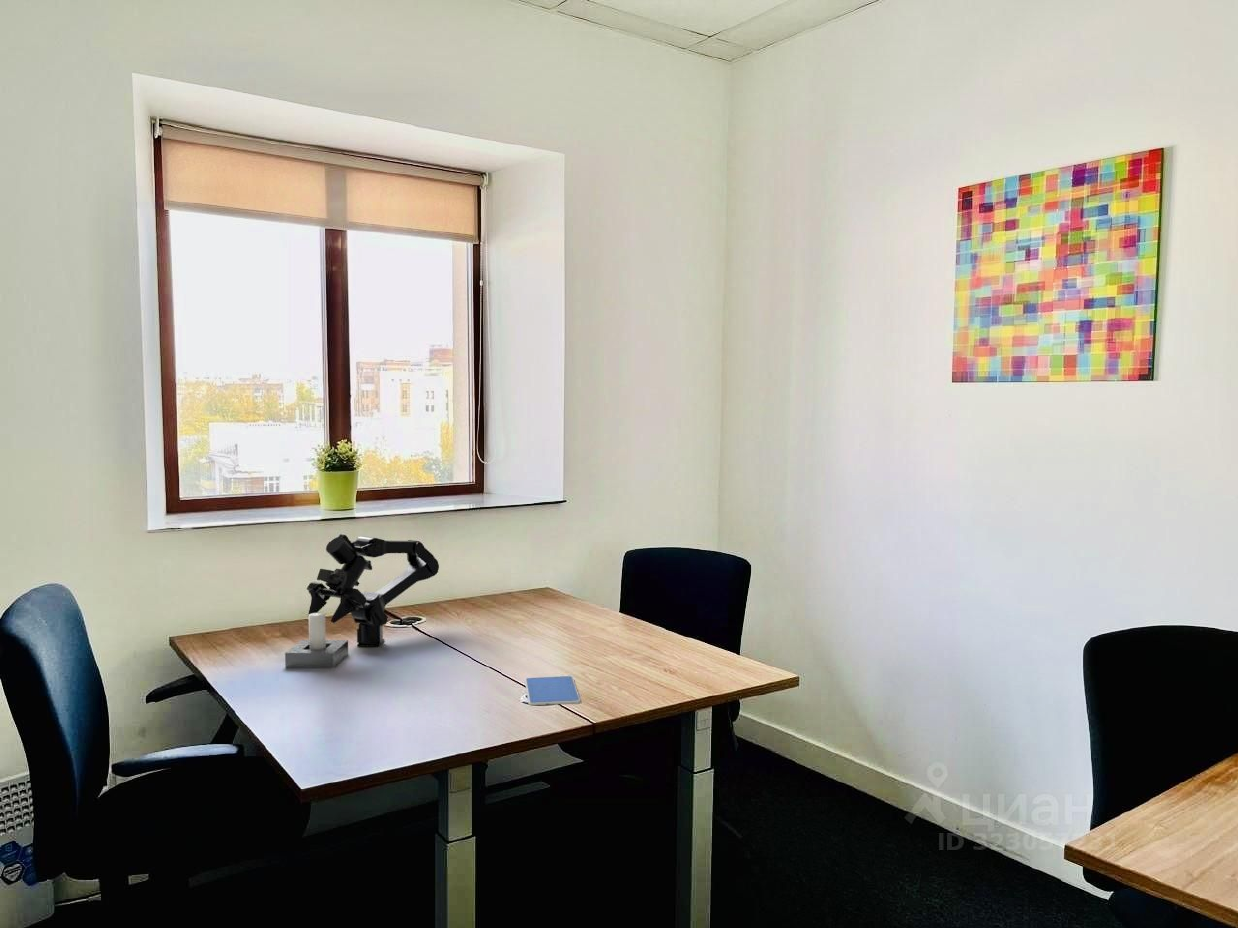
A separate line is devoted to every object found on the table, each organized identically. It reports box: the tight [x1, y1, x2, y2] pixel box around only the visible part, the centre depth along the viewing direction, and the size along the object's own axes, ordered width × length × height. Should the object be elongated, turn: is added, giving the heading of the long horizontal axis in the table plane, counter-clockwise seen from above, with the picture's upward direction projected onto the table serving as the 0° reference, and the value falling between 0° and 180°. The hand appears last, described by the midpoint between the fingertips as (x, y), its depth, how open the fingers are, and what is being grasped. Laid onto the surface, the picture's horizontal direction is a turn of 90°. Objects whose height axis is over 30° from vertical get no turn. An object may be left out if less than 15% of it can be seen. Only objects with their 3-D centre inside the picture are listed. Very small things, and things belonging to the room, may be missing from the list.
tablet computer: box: [524, 675, 581, 706], centre depth 230 cm, size 19×13×1 cm, turn 9°
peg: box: [307, 612, 327, 650], centre depth 254 cm, size 4×4×13 cm
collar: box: [284, 639, 349, 669], centre depth 254 cm, size 13×13×4 cm
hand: (320, 619), depth 255 cm, fingers open, 9 cm apart
